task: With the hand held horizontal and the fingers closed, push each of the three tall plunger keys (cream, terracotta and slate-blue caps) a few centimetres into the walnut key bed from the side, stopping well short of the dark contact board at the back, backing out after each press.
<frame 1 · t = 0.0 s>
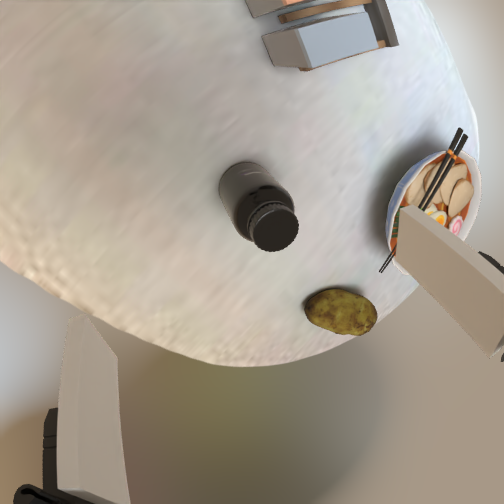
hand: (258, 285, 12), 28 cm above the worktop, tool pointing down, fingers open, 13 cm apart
ramen bowl: (412, 197, 50), on the worktop
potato: (332, 298, 57), on the worktop
supplement bottle: (243, 185, 41), on the worktop
slate key: (316, 39, 28), point 5 cm above the worktop, slide at 0.0 cm
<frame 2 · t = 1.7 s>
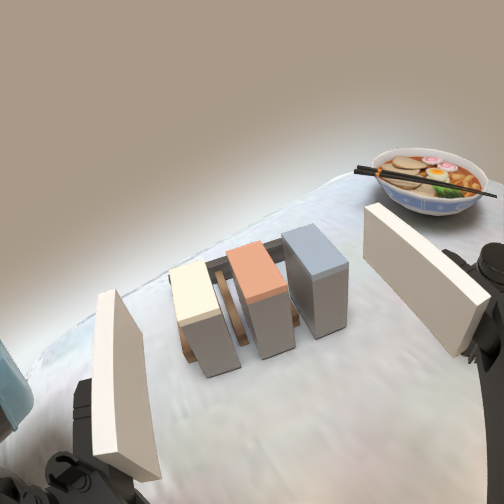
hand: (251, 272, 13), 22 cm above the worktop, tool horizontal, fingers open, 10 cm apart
key bed: (261, 316, 40), on the worktop
ramen bowl: (427, 205, 54), on the worktop
supplement bottle: (469, 336, 31), on the worktop
terracotta key: (261, 300, 35), point 5 cm above the worktop, slide at 0.0 cm
cream key: (204, 319, 34), point 5 cm above the worktop, slide at 0.0 cm
slate key: (315, 281, 36), point 5 cm above the worktop, slide at 0.0 cm
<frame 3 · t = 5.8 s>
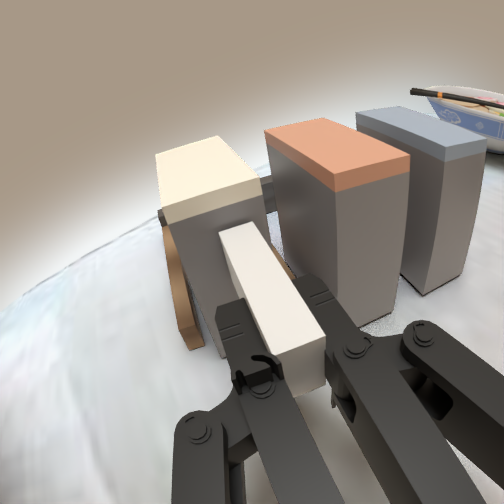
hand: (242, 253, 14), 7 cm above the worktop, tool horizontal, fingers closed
key bed: (318, 264, 23), on the worktop
ramen bowl: (489, 146, 37), on the worktop
terracotta key: (333, 220, 18), point 5 cm above the worktop, slide at 0.0 cm
cream key: (218, 242, 18), point 5 cm above the worktop, slide at 1.5 cm, touching gripper
slate key: (415, 193, 19), point 5 cm above the worktop, slide at 0.0 cm
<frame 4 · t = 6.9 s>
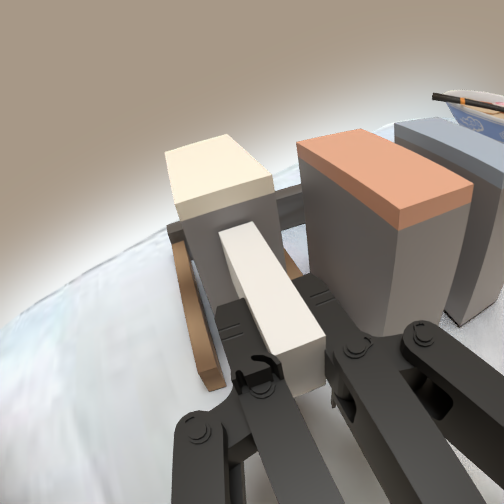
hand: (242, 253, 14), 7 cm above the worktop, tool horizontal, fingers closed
key bed: (347, 290, 20), on the worktop
terracotta key: (373, 248, 16), point 5 cm above the worktop, slide at 0.0 cm
cream key: (227, 239, 18), point 5 cm above the worktop, slide at 4.8 cm, touching gripper
slate key: (455, 215, 16), point 5 cm above the worktop, slide at 0.0 cm
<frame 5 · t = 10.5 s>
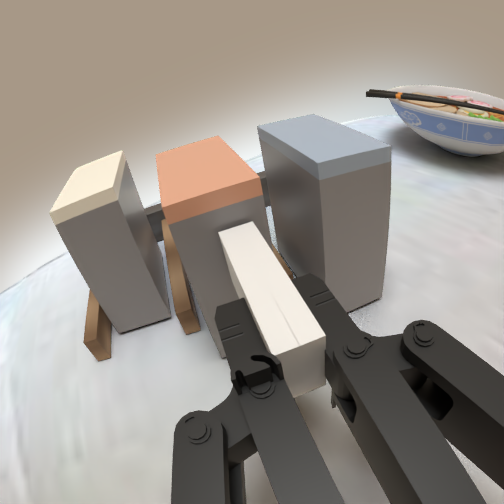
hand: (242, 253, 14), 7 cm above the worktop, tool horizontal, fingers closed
key bed: (228, 283, 23), on the worktop
ramen bowl: (461, 149, 37), on the worktop
terracotta key: (218, 242, 18), point 5 cm above the worktop, slide at 0.2 cm, touching gripper
cream key: (116, 238, 21), point 5 cm above the worktop, slide at 4.8 cm
slate key: (322, 210, 19), point 5 cm above the worktop, slide at 0.0 cm
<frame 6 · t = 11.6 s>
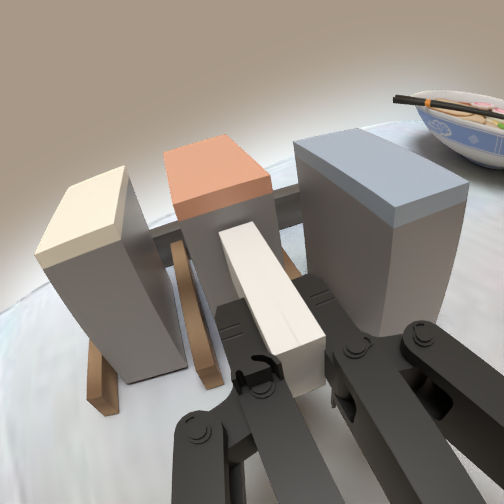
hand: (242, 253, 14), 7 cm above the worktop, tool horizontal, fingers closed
key bed: (252, 324, 20), on the worktop
ramen bowl: (486, 160, 33), on the worktop
terracotta key: (225, 240, 18), point 5 cm above the worktop, slide at 4.7 cm, touching gripper
cream key: (120, 273, 18), point 5 cm above the worktop, slide at 4.8 cm
slate key: (370, 247, 16), point 5 cm above the worktop, slide at 0.0 cm
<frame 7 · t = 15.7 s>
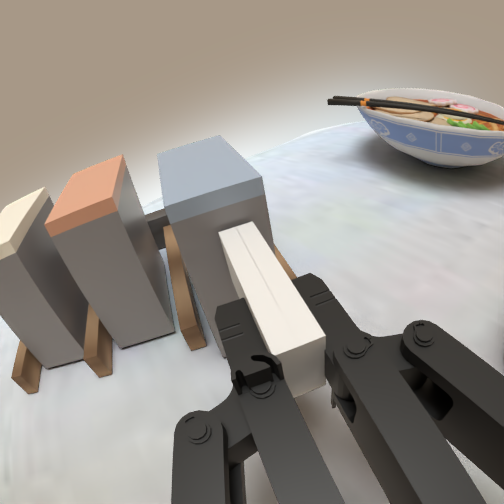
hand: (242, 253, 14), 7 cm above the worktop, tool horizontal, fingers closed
key bed: (146, 324, 21), on the worktop
ramen bowl: (440, 159, 35), on the worktop
terracotta key: (117, 248, 20), point 5 cm above the worktop, slide at 4.8 cm
cream key: (39, 277, 19), point 5 cm above the worktop, slide at 4.8 cm
slate key: (219, 241, 18), point 5 cm above the worktop, slide at 1.6 cm, touching gripper
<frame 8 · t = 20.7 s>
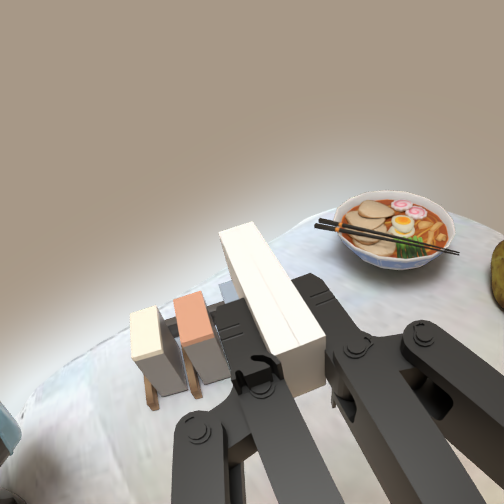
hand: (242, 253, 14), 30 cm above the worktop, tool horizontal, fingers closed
key bed: (215, 372, 44), on the worktop
ramen bowl: (392, 252, 57), on the worktop
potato: (503, 292, 43), on the worktop
terracotta key: (202, 339, 42), point 5 cm above the worktop, slide at 4.8 cm
cream key: (158, 352, 42), point 5 cm above the worktop, slide at 4.8 cm
slate key: (247, 323, 43), point 5 cm above the worktop, slide at 4.8 cm
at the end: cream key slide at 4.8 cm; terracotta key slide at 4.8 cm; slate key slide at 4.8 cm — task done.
